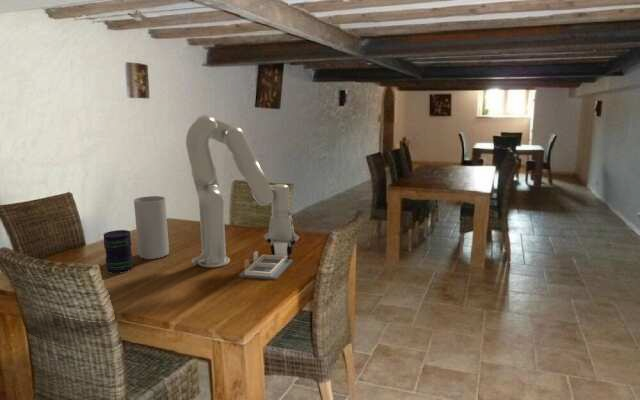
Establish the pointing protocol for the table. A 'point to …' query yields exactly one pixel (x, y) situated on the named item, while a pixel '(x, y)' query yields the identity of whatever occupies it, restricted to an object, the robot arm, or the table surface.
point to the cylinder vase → (151, 227)
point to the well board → (265, 266)
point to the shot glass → (280, 247)
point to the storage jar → (118, 251)
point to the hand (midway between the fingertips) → (281, 253)
